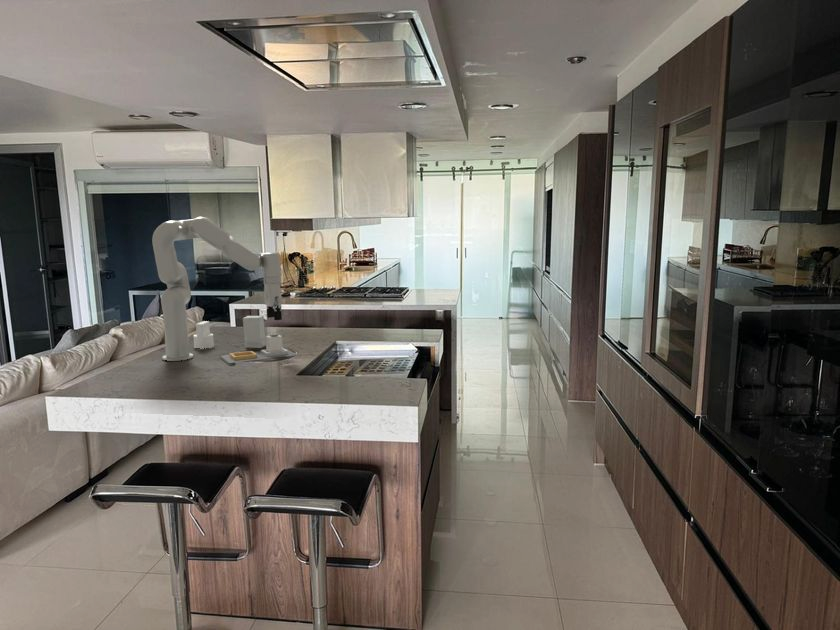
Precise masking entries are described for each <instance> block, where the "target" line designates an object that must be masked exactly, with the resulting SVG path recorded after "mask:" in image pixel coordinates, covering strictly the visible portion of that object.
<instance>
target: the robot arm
mask: <svg viewBox="0 0 840 630" xmlns="http://www.w3.org/2000/svg"><path fill="white" fill-rule="evenodd" d="M198 238H199V239H201V240H202V241H204V242H206V243H207V244H209V245H210V246H212V247H213V248H215V249H217V250H218V251H219V252H221V253H222V254H223V255H225V256H226V257H227V258H229V259H230V260H232V261H233V262H234V263H235V264H238V265H239V266H241V267H242V268H244V269H245V270H248V271H256V270H258V269H262V274H263V285H264V288H263V289H264V296H263V297H264V298H263V299H264V300H263V301H264V305H265V306H266V317H267V318H268V319H269V318H273V319H274V321H282V320H283V317H282V290H281V285H280V284H282V274H281V273H282V271H281V270H282V269H281V256H280V254H279V252H264V253H263V252H255V251H253V252H252V251H251V250H249V249H248V248H246V247H245V246H243V245H242V244H241V243H239V242H238V241H237V240H236V239H235V238H234V236H233V235H232V234H231V233H229V232H228V231H226V230H224V229H223V228H221V227H220V226H218V225H217V224H215V223H214V221H213V220H212V219H211V218H209V217H205V216H197V217H195V218H193V219H181V220H168V221H164V222H162V223H161V224H160V225H158V226H157V227H156V229H155V230H154V231H153V234H152V243H151V244H152V247H153V253H154V260H155V265H156V269H157V275H158V278H159V280H160V281H161V282H162V283H164V284H166V287H167V288H166V289H165V290H164V291H163V292H162V294H161V298H160V302H161V303H160V305H161V310H162V314H163V315H162V316H163V326H164V327H163V329H164V343H165V345H164V346H165V354H164V355H163V356H161V357H162V360H163V361H165V360H167V361H166V362H181V360H182V361H187V359H188V360H191V359H193V358H194V354H193V353H191V352H190V339H189V323H188V314H187V307H186V305H187V304H189V302H190V300H191V298H192V293H191V286H190V282H189V277H188V276H189V275H188V272H187V269H186V267H185V266H184V265H183V264H182V262H179V261H178V257H177V252H176V248H175V245H174V243H175V242H176V241H183V240H184V241H185V240H193V239H198Z"/></svg>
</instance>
